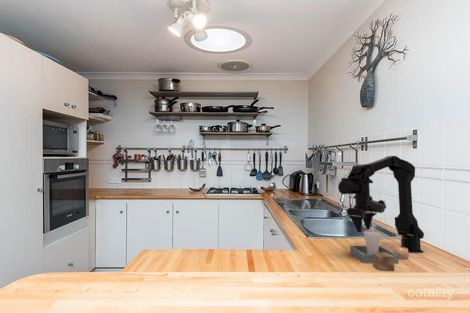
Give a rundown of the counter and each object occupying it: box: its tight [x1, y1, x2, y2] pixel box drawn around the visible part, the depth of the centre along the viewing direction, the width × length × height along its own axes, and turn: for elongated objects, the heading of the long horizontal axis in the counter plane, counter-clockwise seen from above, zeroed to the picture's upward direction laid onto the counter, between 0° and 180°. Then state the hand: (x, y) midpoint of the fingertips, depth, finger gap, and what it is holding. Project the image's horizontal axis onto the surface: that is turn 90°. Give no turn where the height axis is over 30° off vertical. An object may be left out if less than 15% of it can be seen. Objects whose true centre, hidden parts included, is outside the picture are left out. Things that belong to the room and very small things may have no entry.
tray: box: [349, 245, 400, 265], centre depth 104 cm, size 13×13×3 cm
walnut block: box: [372, 253, 395, 272], centre depth 92 cm, size 5×5×5 cm
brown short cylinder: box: [393, 245, 410, 261], centre depth 104 cm, size 5×5×4 cm
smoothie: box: [363, 220, 382, 254], centre depth 104 cm, size 6×6×14 cm
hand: (363, 230), depth 106 cm, fingers open, 9 cm apart
